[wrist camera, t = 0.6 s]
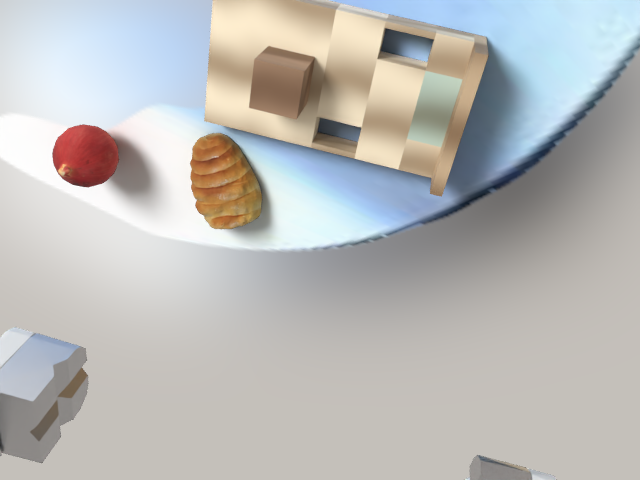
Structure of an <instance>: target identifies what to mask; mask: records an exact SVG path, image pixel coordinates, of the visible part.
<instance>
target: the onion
mask: <svg viewBox="0 0 640 480" xmlns="http://www.w3.org/2000/svg"><path fill="white" fill-rule="evenodd" d="M118 161H119V157H118V147H117V145H116V143H115V141H114V139H113V138H112V137H111V136H110V135H109V134H108V133H107V132H106V131H104V130H102V129H101V128H99V127H96V126H90V125H79V126H74V127H71V128H68V129H67V130H66V131H65V132H64V133H63V134H62V135H61V136H59V137H58V139H57V140H56V143H55V146H54V149H53V163H54V166H55V168H56V170H57V172H58V174H59V175H60V176H61V177H62V178H63V179H64V180H65V181H67V182H69V183H71V184H73V185H76V186H82V187H91V186H95V185H99V184H102V183H104V182H105V181H107V180H108V179H109V178H110V177H111V176H112V175H113V174H114V172H115V170H116V167H117V164H118Z"/></svg>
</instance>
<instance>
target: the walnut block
mask: <svg viewBox="0 0 640 480" xmlns="http://www.w3.org/2000/svg"><path fill="white" fill-rule="evenodd" d="M314 61H315V57H313V56H309V55H304V54H300V53H296V52H292V51H288V50H283V49H279V48H275V47H271V46H268V47H267V48H266V49H265V50H264V51H262V52H261V53H260V54H259V55H258V56H257V57H256V58H255V59H254V67H253V75H252V84H251V93H250V102H249V108H251V109H255V110H259V111H264V112H268V113H272V114H276V115H280V116H284V117H288V118H292V119H296V120H297V118H298V117H299V115H300V114H301V112H302V110H303V109H304V107H305V106H306V104H307V102H308V96H309V90H310V84H311V79H312V73H313V67H314Z"/></svg>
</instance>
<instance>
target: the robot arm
mask: <svg viewBox="0 0 640 480" xmlns="http://www.w3.org/2000/svg"><path fill="white" fill-rule="evenodd" d="M86 361H87V357H86V349H85V348H83V347H81V346H78V345H74V344H71V343H68V342H64V341H61V340H58V339H55V338H51V337H48V336H45V335H41V334H37V333H34V332H30V331H27V330H24V329H20V328H17V327H14V328H12V329H10V330H8V331H6V332H5V333H4V334H3V335H2V336H1V337H0V456H1V453H5V454H8V455H12V456H16V457H20V458H24V459H28V460H32V461H35V462H39V463H43V461H44V460H45V458H46V457H47V456H48V454H49V453H50V451H51V450H52V448H53V447H54V446H55V444H56V443H57V442H58V440H59V439H60V437H61V432H60V426H61V425H63V424H65V423H67V422H69V421H71V420H73V419H74V417H75V416H76V414H77V413H78V412H79V410H80V409H81V406H82V404H83V402H84V399H85V397H86V394H87V389H88V375H87V374H86V372H85V371H84V370H83V368H82V366H83V364H84V363H85V362H86ZM464 480H557V479H556V478H555V476H553V475H550V474H546V473H542V472H539V471H535V470H531V469H527V468H526V467H522V466H518V465H514V464H510V463H506V462H503V461H499V460H495V459H491V458H487V457H484V456H480V455H477V456H476V457H475V458H474V459H473V461H472V463H471V465H470V477H469V478H467V479H464Z"/></svg>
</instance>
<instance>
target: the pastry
mask: <svg viewBox="0 0 640 480" xmlns="http://www.w3.org/2000/svg"><path fill="white" fill-rule="evenodd" d="M190 165H191V168H192V171H191V181H192V185H191V189H192V192H193V195H194V197H195V198H196V199H197V202H196V204H195V206H196V208H197V210H198V212H199V213H200V214H202V215H204V217H205V220H206V221H207V222H208V223H209V225H210V227H212V228H214V229H233V228H235V227H238V226H243V225H246V224H248V223H250V222H252V221H253V220H255V219H256V218H258V217H259V216H260V213H261V203H262V194H261V190H260V186H259V183H258V181H257V179H256V177H255V174H254V173H253V171H252V168H251V167H250V165H249V164H248V162H247V160H246V159H245V157H244V155H243V153H242V151H241V150H240V148H239V147H238V145H237V144H236V143H235V142H233V141H232V140H231V139H230V138H229V137H228V136H227V135H224V134H222V133H212V134H209V135H206V136H204V137H201V138H199V139H198V140H197V142H196V143H195V145H194V146H193V153H192V160H191V162H190Z"/></svg>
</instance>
